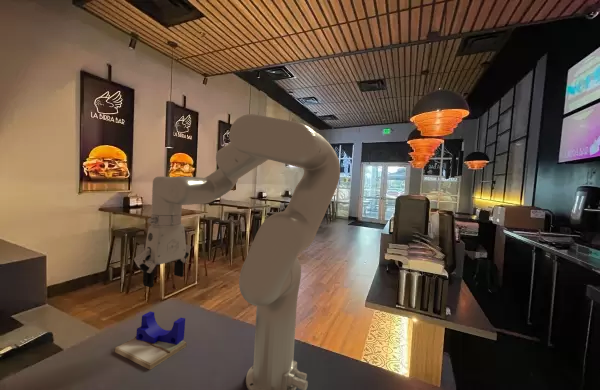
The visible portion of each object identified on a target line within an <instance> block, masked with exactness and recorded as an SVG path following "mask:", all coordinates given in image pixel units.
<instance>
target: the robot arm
mask: <svg viewBox="0 0 600 390" xmlns="http://www.w3.org/2000/svg"><path fill="white" fill-rule="evenodd" d="M228 134H229V141H230V142H229V143H228V144H226V145H225V146H223V147H222V148H220V149H219V150H217V152H216V155H215V161H216V165H217V167H218V168H217V169H216V170H214V172H212V173H211V174H209V175H207V176H205V177H200V176H199V177H198V176H197V177H196V176H155V177H154V178H153V179H152V190H151V191H152V195H151V217H149V218H148V219H147V223H148V224H150V226H148V230H147V234H146V241H145V248H144V250H143V251H142V252H141V253H139V254H137V255H136V256H135V257H134V258H133V260H134V261H133V262H135V264H136V268H138V269H139V270H140V271H141V272H142V276H143V277H142V282H143V286H144V287H147V288H150V289H151V288H153V287H154V286H155V285H154V284H155V283H154V282H155V272H154V271H153V270H155V267H156V266H157V265H163V264H167V263H171V262H174V264H173V266H174V267H173V268H174V269H173V275H174V276H176V277H180V278H182V277H184V273H185V271H184V270H185V269H184V268H185V264H186V262H187V259H188V257H189V255H190V254H189V253H190V251H191V249H192V246H191V245H189V244H186V242H187V241H186V231H185V226H184V224H182V214H183V213H182V209H183V208H182V207H183V206H186V205H187V206H189V205H192V206H193V205H203V204H204V205H205V204H209V203H212V202H214V201H216V200H217V199H220V198H221V197H223V196H224V195H226V194H228V193H229V192H230V191H231V190H233V188H234V187H235V185H236V184H237V183H238V180H239V179H240V178H242V177H243V176H245V175H247V174H248V173H249V172H250V171H253V170H255V168H257V167H259V166H260V165H263V164H264V163H266V162H267V161H273V162H277V163H281V164H284V165H288V166H293V167H297V168H299V169H303V175H302V177H301V179H300V180H299V181H298V183H297V185H296V186H295V188H294V191H293V193H292V195H291V198H290V199H289V202H288V203H287V206H286V208H285V209H284V210H282V211H279V212H276V213H273V214H271V215H270V216H268V217H267V218H266V219H265V220H264V221H263V222H262V224H261V225H260V227H259V229H258V230H257V232H256V234H255V236H254V239H253V241H252V244H251V245H250V248H249V251H248V252H247V255H246V257H245V259H244V262H243V265H242V266H241V270H240V272H239V278H238V287H239V290H240V291H239V292H240V294H241V296H242V297H243V299H244V300H245V301H246V302H247V303H248V304H251V305H252V306H255V307H256V311H255V312H256V313H255V329H254V330H255V331H254V346H253V347H254V348H253V350H254V351H253V365H252V366H251V367H250V368H249V369H248V371H247V373H246V376H245V383H246V384H245V385H246V388H247V390H297V389H298V390H307V389H308V384H309V382H308V380H307V378H308V374H307V373H305V372H303V371H300V370H299V369H298V362H297V361H296V360H294V355H295V354H294V353H295V342H296V341H295V340H296V339H295V338H296V320H297V309H298V308H297V307H298V298H299V297H298V295H299V292H300V291H299V289H300V285H301V279H302V266H301V265H302V264H301V262H300V259H299V257H298V255H299V254H300V253H302V252H304V251H305V250H306V249H307V248H308V247H310V246H312V243H313V242H314V240H315V237H316V235H317V232H318V230H319V228H320V226H321V224H322V222H323V219H324V217H325V215H326V213H327V210H328V208H329V206H330V204H331V201H332V199H333V197H334V194H335V193H336V190H337V187H338V184H339V183H340V178H341V177H340V176H341V165H340V163H341V162H340V160H339V159H340V158H339V157H338V155H337V152H336V151H335V149H334V147H332V145H331V144H330V142H328V140H327V139H326V138H325V137H323V135H321V134H320V133H318V132H316V131H315V130H314V129H313V128H311V127H310V126H308V125H306V124H304V123H301V122H299V121H293V120H287V119H282V118H276V117H271V116H265V115H259V114H255V113H254V114H253V113H249V114H244V115H241V116H239V117H238V118H237V119H236V120H235V121H234V122H233V123H232V124H231V127H230V129H229V133H228ZM144 260H145V262H144Z"/></svg>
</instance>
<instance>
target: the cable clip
mask: <svg viewBox="0 0 600 390" xmlns="http://www.w3.org/2000/svg"><path fill="white" fill-rule="evenodd" d="M140 323H141V324H140V326H138V327H137V328H136V334H135V335H136V336H135V337H136V339H137V340H141V341H146V342H150V343H156V342H157V341H162V342H166V343H171V344H175V345H177V344H178V343H180V342H181V341H185V340H184V339H185V328H186V327H185V326H186V318H185V317H179V318H178V319H177V320H175V321H173V325H172V328H171V329H170V330H167V329H164V328H163V327H161V326H160V325H159V324H158V323H157V321H156V318H155V312H154V311H148V312H146V313H144V314H142V315H141V322H140Z"/></svg>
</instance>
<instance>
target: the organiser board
mask: <svg viewBox="0 0 600 390" xmlns="http://www.w3.org/2000/svg"><path fill="white" fill-rule="evenodd" d="M186 347H187V342H186V341H185V340H182V341H181V342H180V343H178V344H177V345H175V344H171V343H166V342H162V341H157V342H156V343H150V342H146V341H141V340H137V339H136V336H134V338H131V339H129V340H128V341H126V342H124V343H122V344H120V345H118V346H115V348H114V353H116V354H118V355H120V356H121V357H124V358H126V359H128V360H130V361H132V362H134V363H135V364H137V365H139V366H142V367H143V368H145V369H148V370H149V371H150V370H152V369H154V368H155V367H157V366H158V365H160V364H161V363H163V362H165V361H166V360H167V359H169V358H171V357H172V356H174V355H176V354H177V353H179V352H180V351H181V350H183V349H185V348H186Z"/></svg>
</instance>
